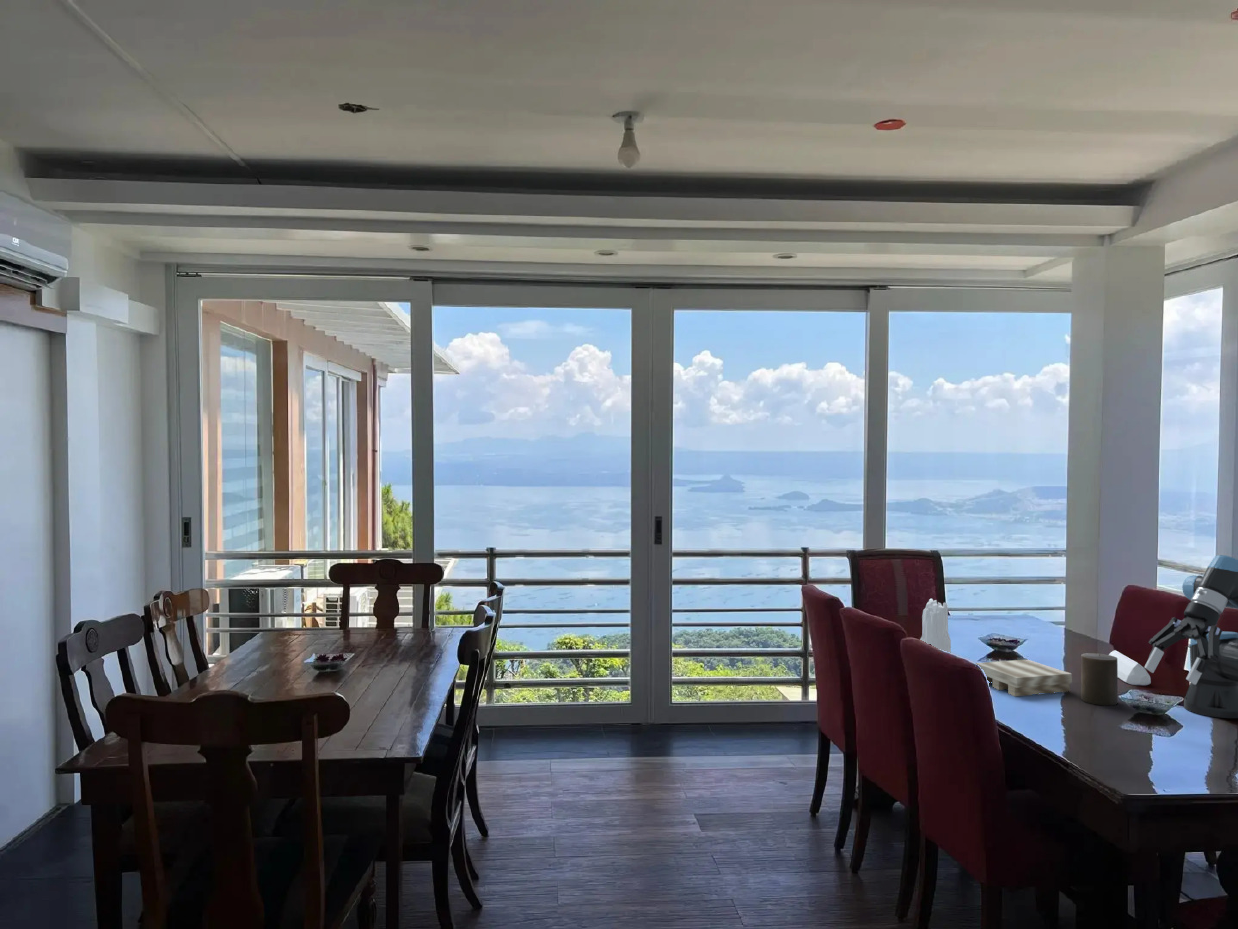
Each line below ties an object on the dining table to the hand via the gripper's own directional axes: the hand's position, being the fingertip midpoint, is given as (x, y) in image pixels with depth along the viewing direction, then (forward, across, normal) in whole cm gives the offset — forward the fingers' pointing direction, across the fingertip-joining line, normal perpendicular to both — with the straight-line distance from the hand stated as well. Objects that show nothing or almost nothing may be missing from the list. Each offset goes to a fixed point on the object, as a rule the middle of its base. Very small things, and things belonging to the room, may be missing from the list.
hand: (1169, 676), depth 223 cm
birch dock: (+16, -49, +1) cm, 52 cm away
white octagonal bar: (-6, -53, +36) cm, 65 cm away
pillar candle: (+10, -30, +12) cm, 34 cm away
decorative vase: (+25, -74, -12) cm, 79 cm away
